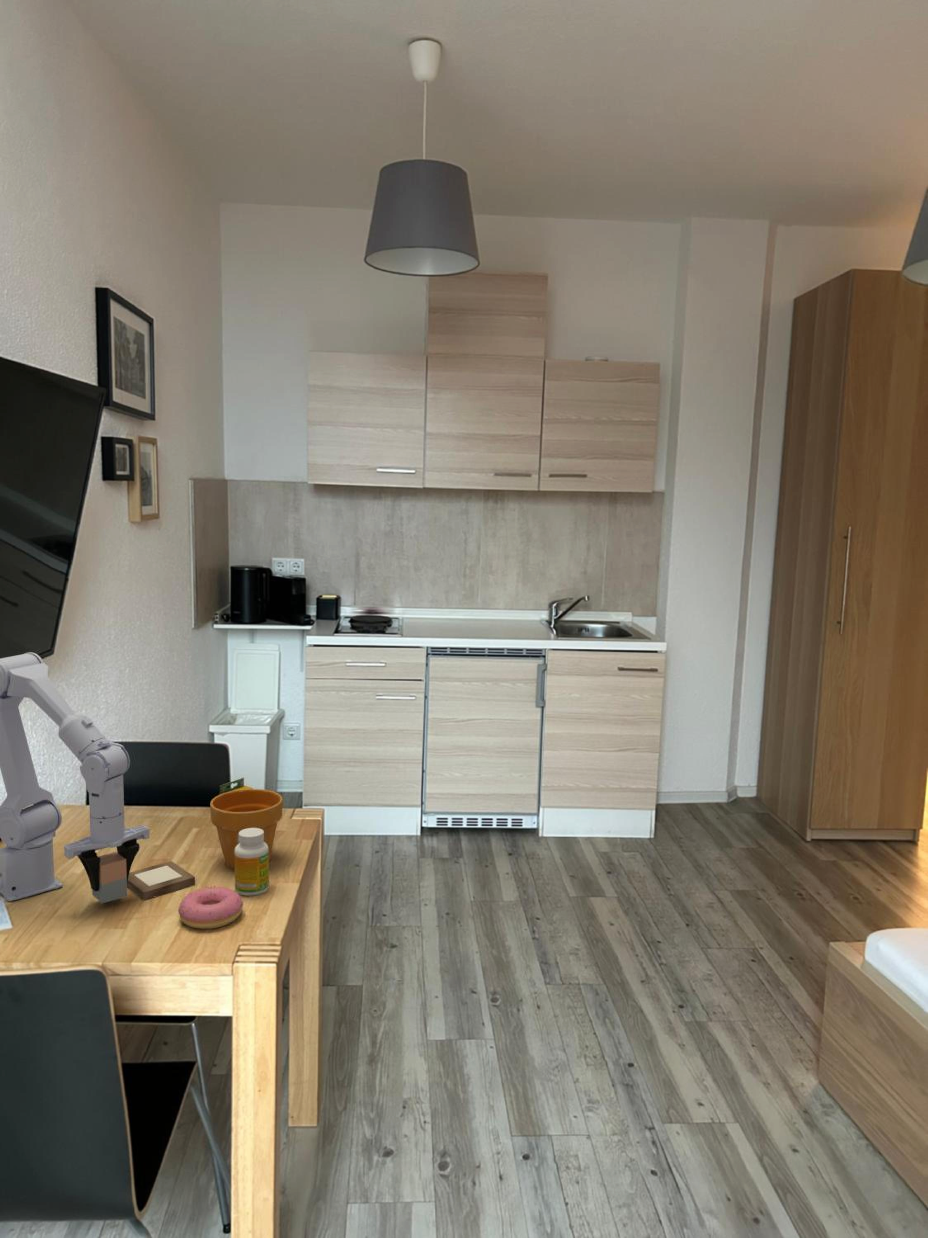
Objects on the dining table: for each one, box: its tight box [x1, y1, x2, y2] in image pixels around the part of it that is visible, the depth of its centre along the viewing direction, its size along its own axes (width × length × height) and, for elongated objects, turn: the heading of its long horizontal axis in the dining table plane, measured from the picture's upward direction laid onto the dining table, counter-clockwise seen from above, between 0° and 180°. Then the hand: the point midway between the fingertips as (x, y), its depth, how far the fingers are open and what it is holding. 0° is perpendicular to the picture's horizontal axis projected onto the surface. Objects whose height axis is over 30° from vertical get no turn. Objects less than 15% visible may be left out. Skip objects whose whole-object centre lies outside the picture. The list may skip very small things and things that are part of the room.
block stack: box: [91, 851, 128, 904], centre depth 156 cm, size 4×4×7 cm
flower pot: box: [209, 788, 284, 870], centre depth 175 cm, size 14×14×13 cm
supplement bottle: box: [234, 828, 270, 897], centre depth 162 cm, size 6×6×11 cm
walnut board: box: [127, 860, 196, 901], centre depth 165 cm, size 10×10×2 cm
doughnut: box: [177, 885, 244, 930], centre depth 152 cm, size 11×11×4 cm
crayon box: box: [219, 777, 254, 795], centre depth 190 cm, size 7×3×12 cm, turn 148°
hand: (109, 885), depth 156 cm, fingers closed on block stack, 4 cm apart
